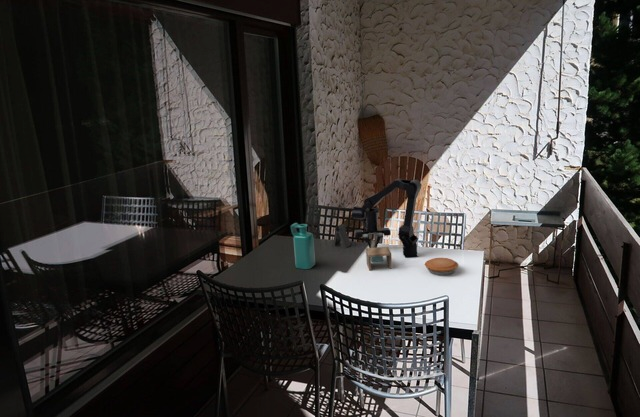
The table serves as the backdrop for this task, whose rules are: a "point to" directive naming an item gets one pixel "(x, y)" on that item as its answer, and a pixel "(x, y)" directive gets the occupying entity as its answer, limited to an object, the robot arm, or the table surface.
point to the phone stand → (341, 237)
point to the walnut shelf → (378, 252)
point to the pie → (441, 266)
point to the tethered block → (377, 258)
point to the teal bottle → (303, 247)
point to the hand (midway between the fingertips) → (373, 248)
